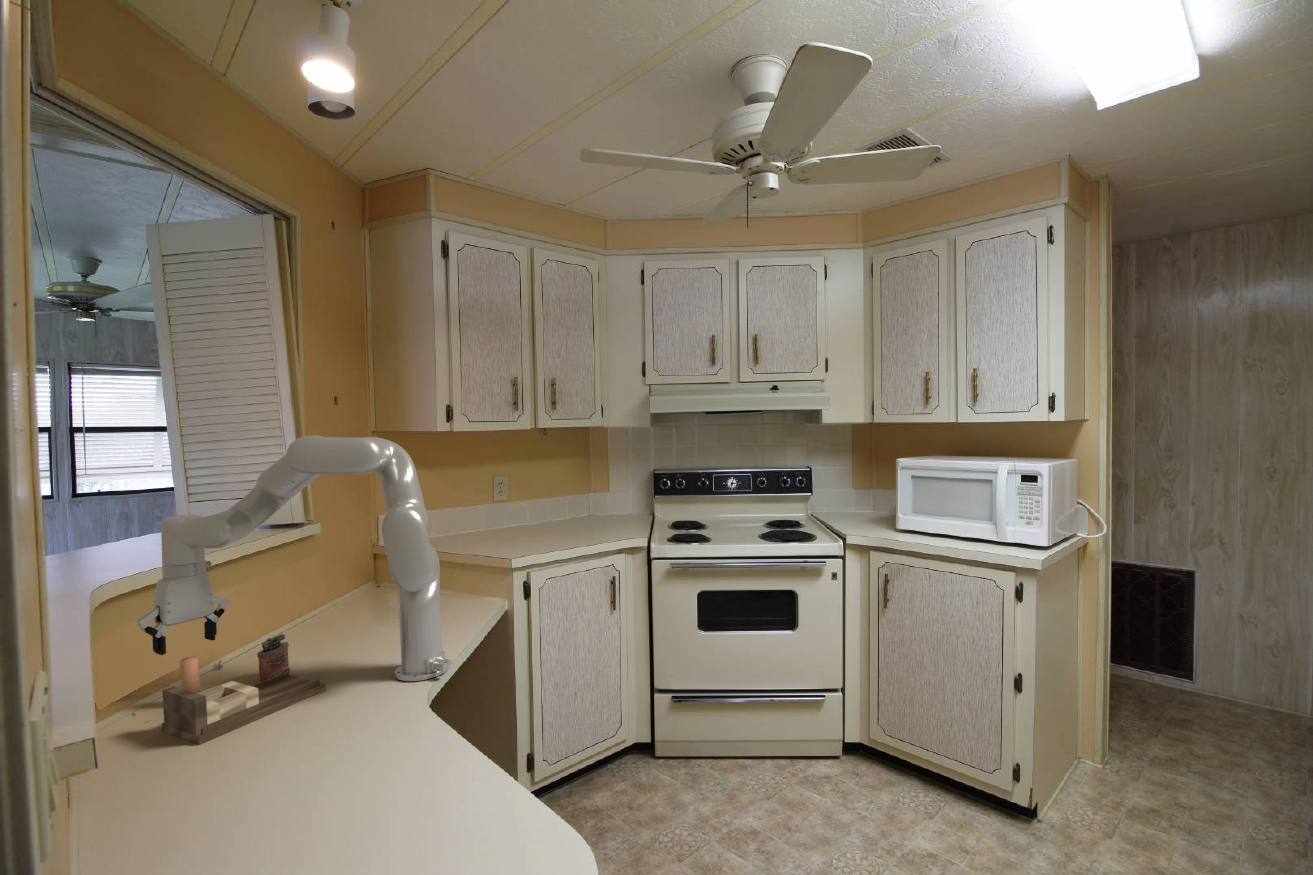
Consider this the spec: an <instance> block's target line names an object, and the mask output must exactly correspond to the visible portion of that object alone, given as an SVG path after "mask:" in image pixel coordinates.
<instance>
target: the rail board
mask: <svg viewBox="0 0 1313 875" xmlns="http://www.w3.org/2000/svg"><path fill="white" fill-rule="evenodd" d="M250 686H252V687H255V688H258V695H259V704H257V705H255V706H252V707H250V708H247V709H245V710H242V711H240V712H238V713H235V714H233V715H230V716H228V717H225V718H223V719H221V720H218V721H216V722H213V723H211V724H208V725H207V705H206V696H204V695H200V694H197V693H194V692H191V691H188V690H184V689H182V687H178V686H174V685H173V686H171V687H168V688H165V689H162V703H163V722H162V723H161V730H162V732H165V733H167V734H170V735H173V736H174V737H175V736H176V737H178V738H180V739H183V740H185V741H188V742H191V743H194V744H196V745H199V746H200V745H203V744H205V743H207V742H209V741H212V740H214V739H216V738H219V737H221V736H223V735H226V734H228V733H231V732H232V731H235V730H237V729H240V728H242V727H243V726H246V725H249V724H251V723H254V722H256V721H258V720H261V719H263V718H265V717H267V716H270V715H271V714H273V713H276V712H279V711H282V710H283V709H285V708H288V707H290V706H292V705H295V704H297V703H299V702H301V701H304V700H307V699H309V698H310V697H313V696H316V695H318V694H320V693H322V692H325V691H326V690H327V683H326V682H321V681H320V680H319V679H316V680H313V679H309V678H305V677H302V676H298V675H294V674H290V673H288V672H285V673H283V674H280V675H278V676H275V677H272V678H270V679H267V680H265V681H262V682H259V681H258V682H257V683H255V684H251V685H250Z"/></svg>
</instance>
